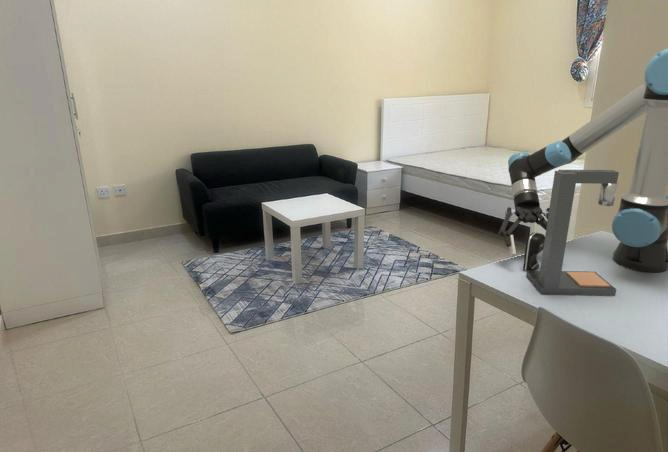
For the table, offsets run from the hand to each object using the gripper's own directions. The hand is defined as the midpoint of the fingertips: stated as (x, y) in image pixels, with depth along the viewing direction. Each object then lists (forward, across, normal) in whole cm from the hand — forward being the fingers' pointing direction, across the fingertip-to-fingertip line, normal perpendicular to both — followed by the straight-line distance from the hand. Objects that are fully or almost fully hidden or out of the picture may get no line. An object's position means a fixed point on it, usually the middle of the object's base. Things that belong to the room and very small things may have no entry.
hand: (535, 256), depth 140 cm
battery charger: (+2, 0, -5) cm, 5 cm away
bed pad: (+9, -11, +5) cm, 15 cm away
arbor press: (+11, -6, +4) cm, 13 cm away
